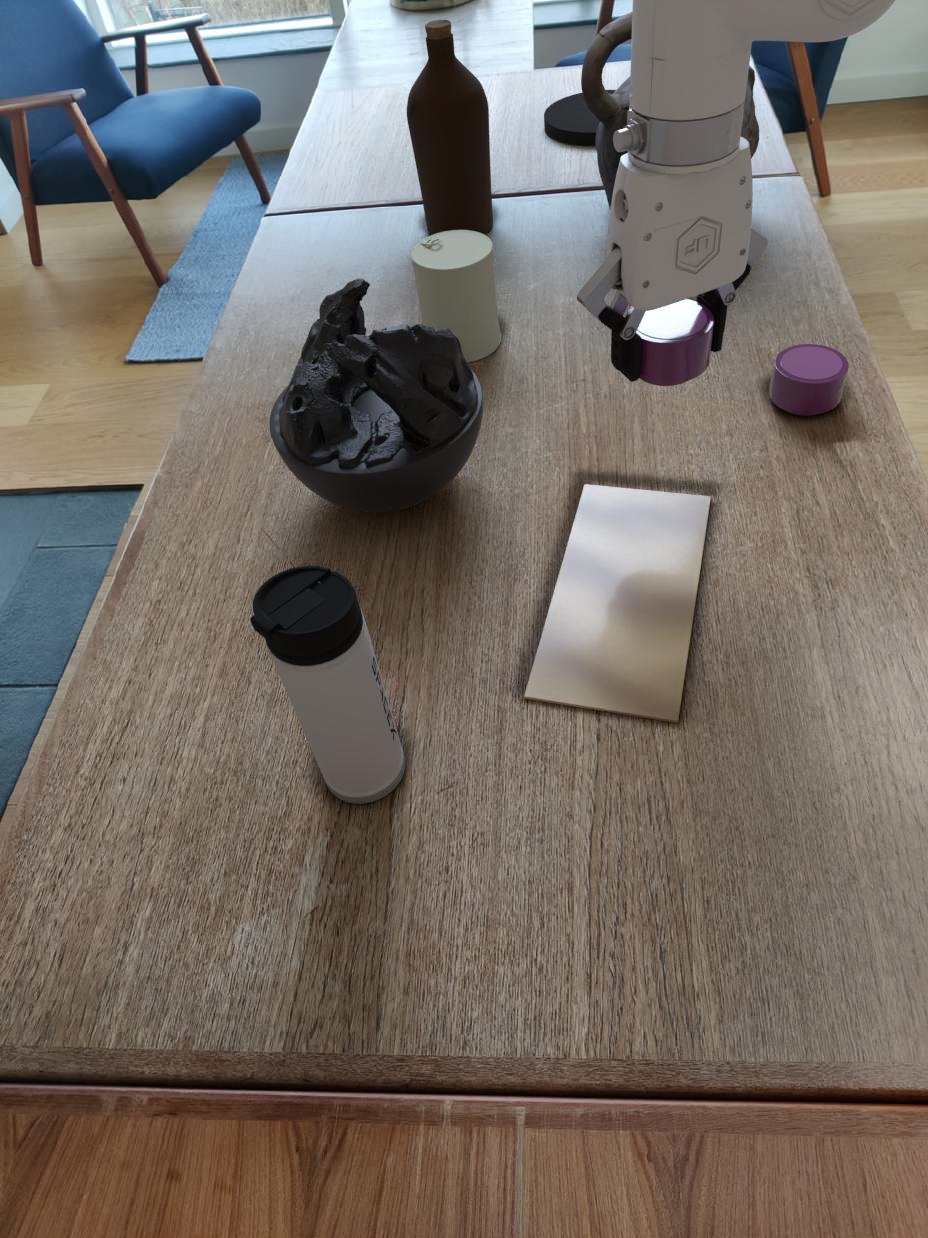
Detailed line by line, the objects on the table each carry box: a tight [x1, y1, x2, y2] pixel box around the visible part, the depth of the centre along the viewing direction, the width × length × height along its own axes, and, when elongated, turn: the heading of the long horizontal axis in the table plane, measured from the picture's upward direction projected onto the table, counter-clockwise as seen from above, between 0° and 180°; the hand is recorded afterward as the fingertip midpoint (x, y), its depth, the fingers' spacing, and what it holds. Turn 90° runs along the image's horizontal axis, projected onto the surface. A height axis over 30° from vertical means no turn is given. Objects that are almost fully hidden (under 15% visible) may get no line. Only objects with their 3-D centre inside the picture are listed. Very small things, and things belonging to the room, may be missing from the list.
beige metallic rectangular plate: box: [523, 483, 712, 724], centre depth 77 cm, size 26×12×1 cm, turn 164°
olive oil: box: [406, 19, 494, 236], centre depth 116 cm, size 11×11×25 cm
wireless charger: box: [543, 89, 617, 147], centre depth 144 cm, size 18×18×2 cm
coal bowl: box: [269, 277, 484, 513], centre depth 82 cm, size 20×20×19 cm
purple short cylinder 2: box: [768, 343, 850, 417], centre depth 90 cm, size 7×7×5 cm
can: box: [410, 230, 502, 364], centre depth 101 cm, size 9×9×12 cm
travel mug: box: [249, 565, 406, 805], centre depth 60 cm, size 6×7×20 cm
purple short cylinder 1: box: [636, 298, 715, 387], centre depth 73 cm, size 7×7×4 cm
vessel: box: [580, 11, 760, 209], centre depth 108 cm, size 24×22×30 cm
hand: (667, 356), depth 73 cm, fingers closed on purple short cylinder 1, 7 cm apart
